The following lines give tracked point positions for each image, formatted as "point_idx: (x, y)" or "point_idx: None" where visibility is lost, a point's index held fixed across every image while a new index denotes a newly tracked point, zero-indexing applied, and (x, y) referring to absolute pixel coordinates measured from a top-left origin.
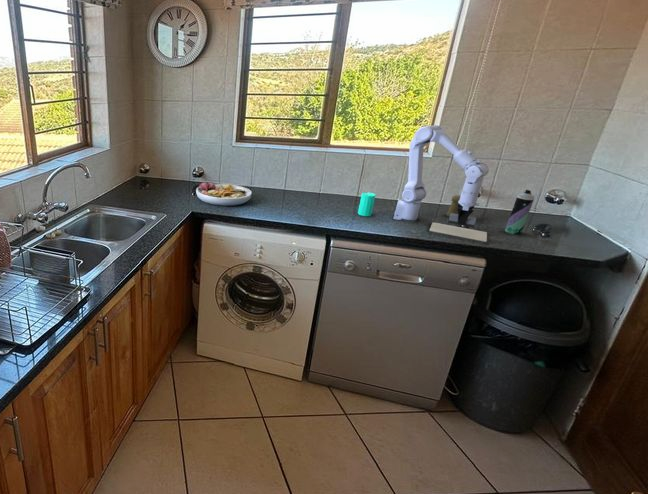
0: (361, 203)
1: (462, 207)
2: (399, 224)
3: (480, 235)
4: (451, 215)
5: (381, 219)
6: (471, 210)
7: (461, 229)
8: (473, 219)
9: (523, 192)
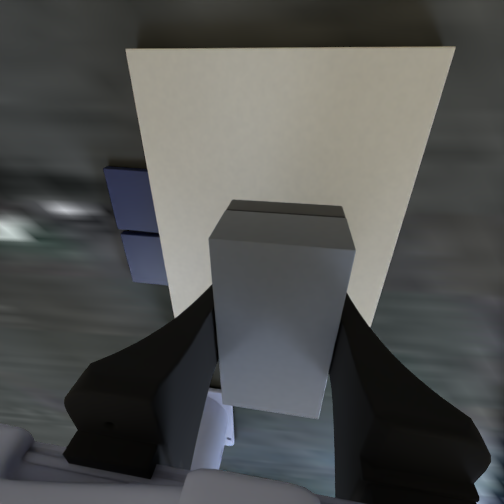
0: None
1: (189, 437)
2: (295, 432)
3: (271, 104)
4: (313, 412)
5: (269, 465)
6: (445, 455)
7: (206, 229)
8: (349, 273)
9: None
